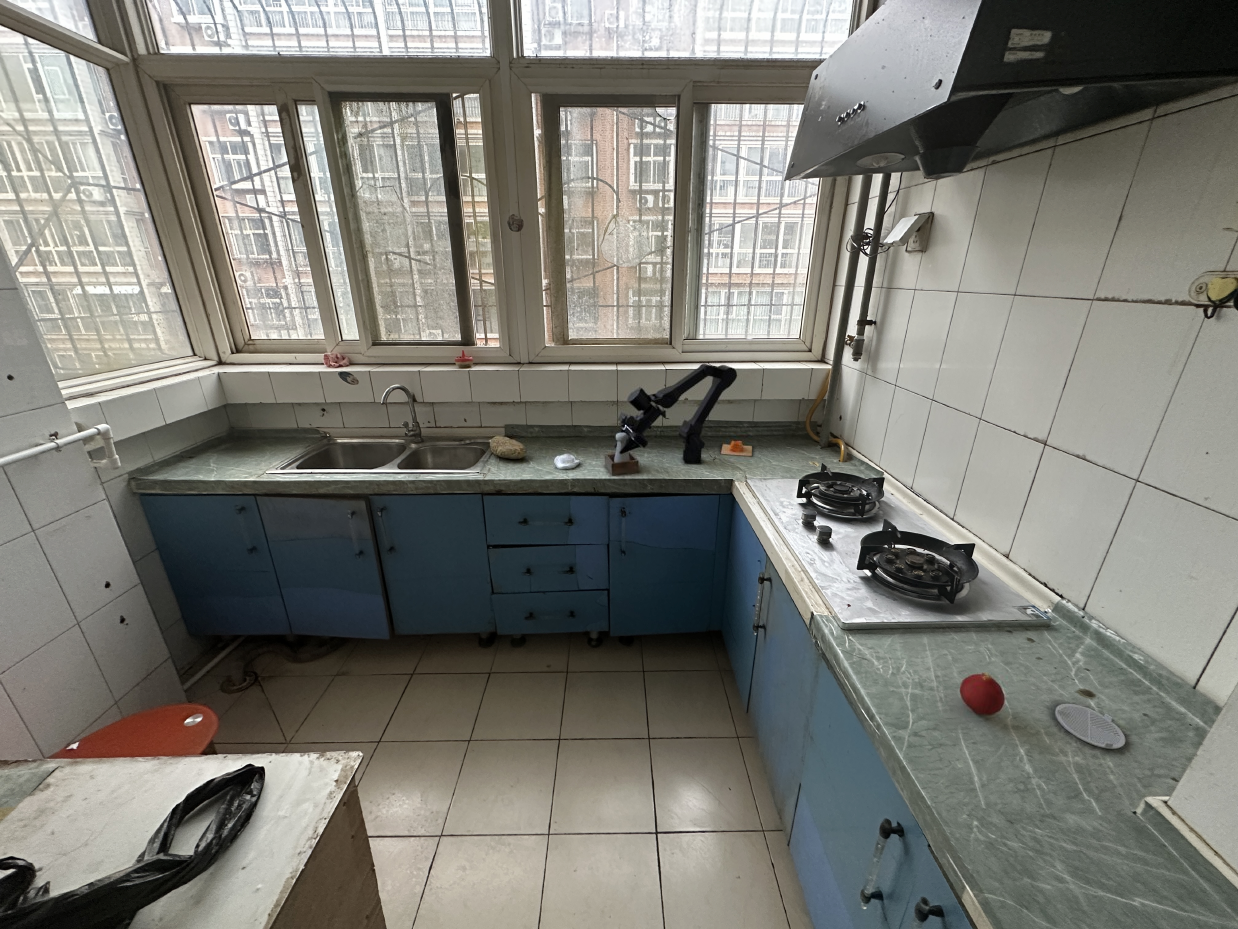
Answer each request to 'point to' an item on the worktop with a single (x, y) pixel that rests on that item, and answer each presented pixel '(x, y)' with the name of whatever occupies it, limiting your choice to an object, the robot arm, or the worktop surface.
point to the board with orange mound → (736, 449)
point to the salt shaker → (621, 441)
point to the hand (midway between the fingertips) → (617, 450)
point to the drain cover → (1090, 726)
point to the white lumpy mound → (566, 461)
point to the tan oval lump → (507, 448)
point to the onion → (982, 694)
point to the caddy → (621, 465)
